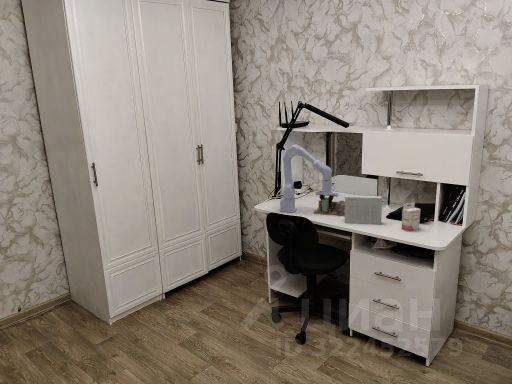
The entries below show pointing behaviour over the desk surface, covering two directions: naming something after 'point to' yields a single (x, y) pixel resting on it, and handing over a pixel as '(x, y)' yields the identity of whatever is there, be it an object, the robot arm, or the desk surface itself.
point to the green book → (325, 205)
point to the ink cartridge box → (410, 217)
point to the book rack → (333, 209)
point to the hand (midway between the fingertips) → (326, 206)
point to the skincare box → (363, 209)
